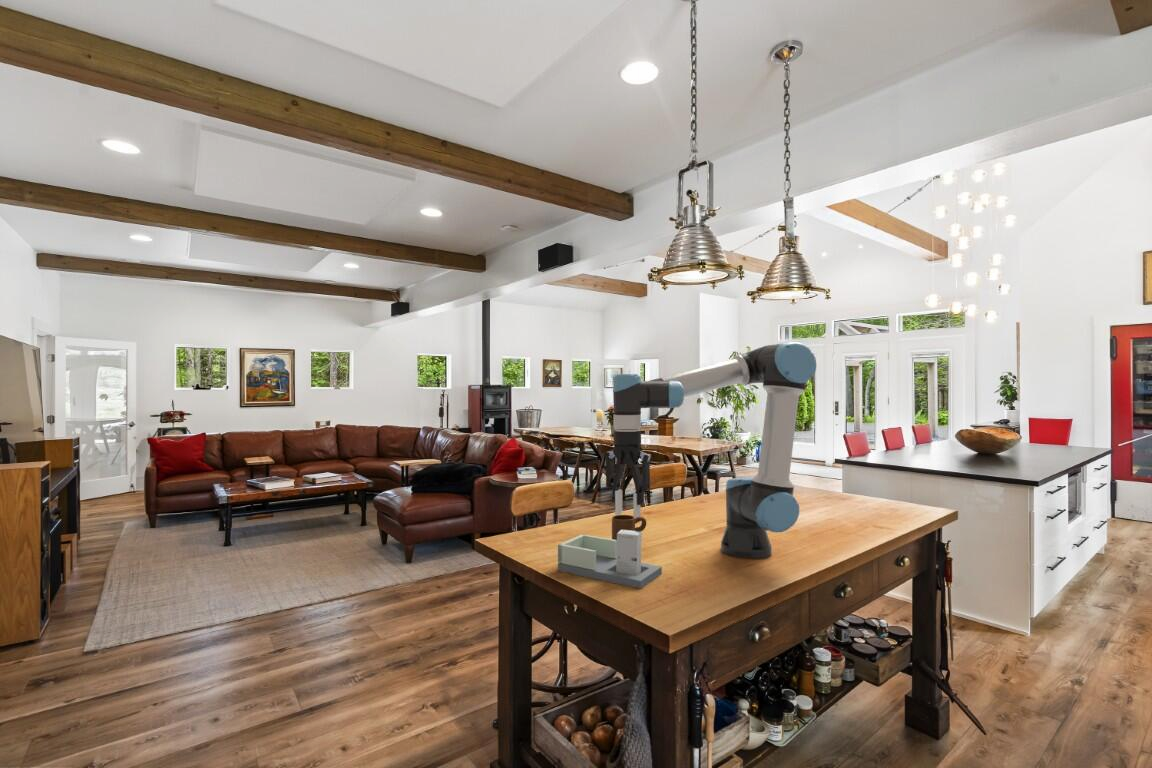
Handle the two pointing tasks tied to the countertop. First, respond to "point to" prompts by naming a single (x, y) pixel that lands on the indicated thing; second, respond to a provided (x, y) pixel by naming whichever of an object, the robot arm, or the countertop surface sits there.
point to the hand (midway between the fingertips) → (627, 515)
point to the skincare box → (629, 552)
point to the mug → (626, 524)
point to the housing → (586, 550)
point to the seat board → (614, 572)
